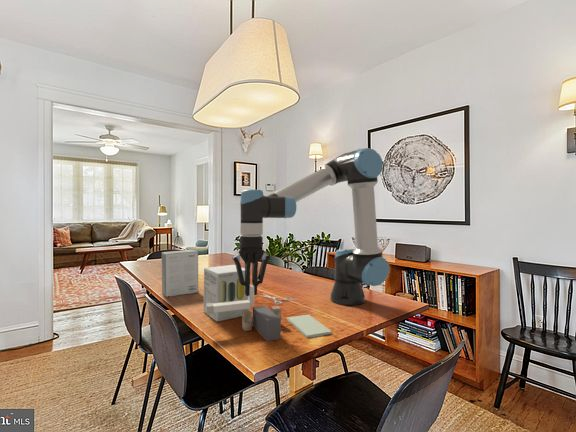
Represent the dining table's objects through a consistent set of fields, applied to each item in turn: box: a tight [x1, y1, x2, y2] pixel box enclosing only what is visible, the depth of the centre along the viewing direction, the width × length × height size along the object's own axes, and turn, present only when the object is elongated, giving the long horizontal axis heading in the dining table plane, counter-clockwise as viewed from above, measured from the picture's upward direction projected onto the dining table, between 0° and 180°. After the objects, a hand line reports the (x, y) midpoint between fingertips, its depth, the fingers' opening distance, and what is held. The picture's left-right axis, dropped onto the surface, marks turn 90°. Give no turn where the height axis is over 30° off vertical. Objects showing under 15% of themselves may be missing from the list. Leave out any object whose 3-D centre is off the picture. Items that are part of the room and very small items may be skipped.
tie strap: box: [205, 300, 251, 315], centre depth 100 cm, size 14×4×2 cm, turn 112°
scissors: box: [258, 292, 298, 305], centre depth 139 cm, size 11×1×20 cm
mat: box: [286, 314, 333, 339], centre depth 105 cm, size 9×17×1 cm, turn 22°
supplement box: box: [203, 264, 248, 323], centre depth 117 cm, size 13×13×18 cm
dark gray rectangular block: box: [252, 305, 282, 342], centre depth 101 cm, size 4×14×6 cm, turn 25°
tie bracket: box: [241, 305, 282, 331], centre depth 105 cm, size 13×3×6 cm, turn 112°
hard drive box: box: [161, 249, 199, 298], centre depth 145 cm, size 16×8×20 cm, turn 123°
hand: (250, 304), depth 103 cm, fingers closed
